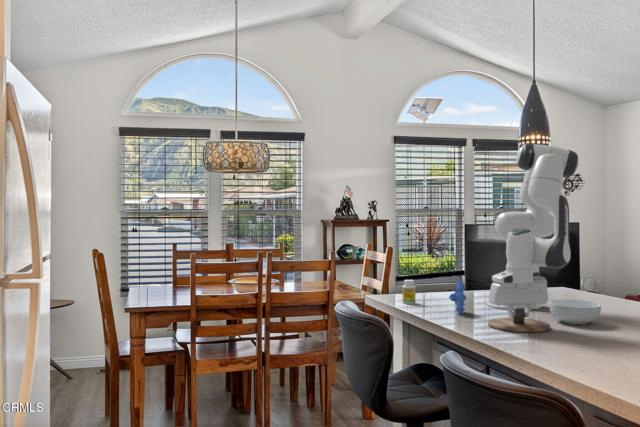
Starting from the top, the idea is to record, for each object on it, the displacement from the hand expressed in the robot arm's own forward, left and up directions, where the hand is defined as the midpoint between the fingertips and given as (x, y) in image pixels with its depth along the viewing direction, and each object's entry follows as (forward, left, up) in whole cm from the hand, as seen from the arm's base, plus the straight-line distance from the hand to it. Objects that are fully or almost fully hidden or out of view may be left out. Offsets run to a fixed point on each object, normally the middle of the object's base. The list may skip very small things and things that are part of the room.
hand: (518, 317), depth 203 cm
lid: (0, 0, -3) cm, 3 cm away
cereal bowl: (+24, +4, -4) cm, 25 cm away
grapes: (-9, +29, -3) cm, 30 cm away
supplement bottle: (-19, +55, -3) cm, 58 cm away
